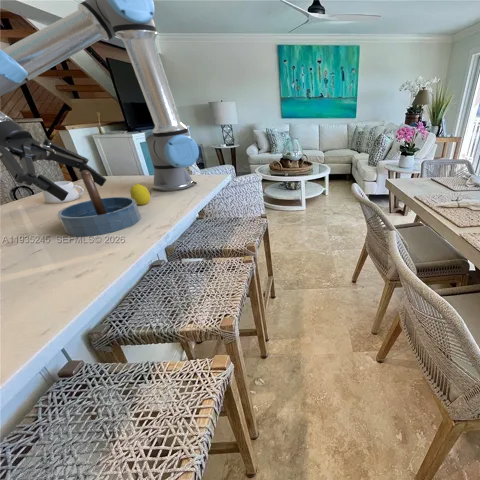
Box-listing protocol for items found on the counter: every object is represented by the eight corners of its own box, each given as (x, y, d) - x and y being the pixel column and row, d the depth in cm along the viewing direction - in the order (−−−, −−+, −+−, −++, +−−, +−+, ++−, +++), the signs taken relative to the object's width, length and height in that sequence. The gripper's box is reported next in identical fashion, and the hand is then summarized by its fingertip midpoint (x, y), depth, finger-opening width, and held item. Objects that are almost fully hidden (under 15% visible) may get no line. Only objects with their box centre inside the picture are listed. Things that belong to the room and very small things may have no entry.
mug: (40, 205, 94) (32, 188, 91) (54, 197, 102) (46, 182, 99) (81, 201, 97) (74, 185, 94) (91, 194, 105) (85, 179, 103)
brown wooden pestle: (117, 217, 81) (98, 166, 74) (118, 223, 77) (98, 170, 70) (92, 222, 78) (70, 169, 71) (92, 229, 74) (68, 173, 67)
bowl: (138, 210, 89) (132, 193, 86) (145, 228, 76) (138, 208, 73) (69, 223, 79) (60, 204, 76) (64, 245, 67) (53, 223, 64)
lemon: (150, 202, 96) (143, 180, 93) (155, 206, 93) (148, 183, 89) (133, 206, 93) (125, 183, 89) (137, 210, 89) (129, 186, 86)
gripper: (41, 136, 78) (111, 186, 85) (-68, 149, 56) (38, 215, 63) (51, 117, 75) (122, 169, 83) (-59, 121, 53) (51, 193, 60)
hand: (86, 189), depth 73 cm, fingers open, 13 cm apart
